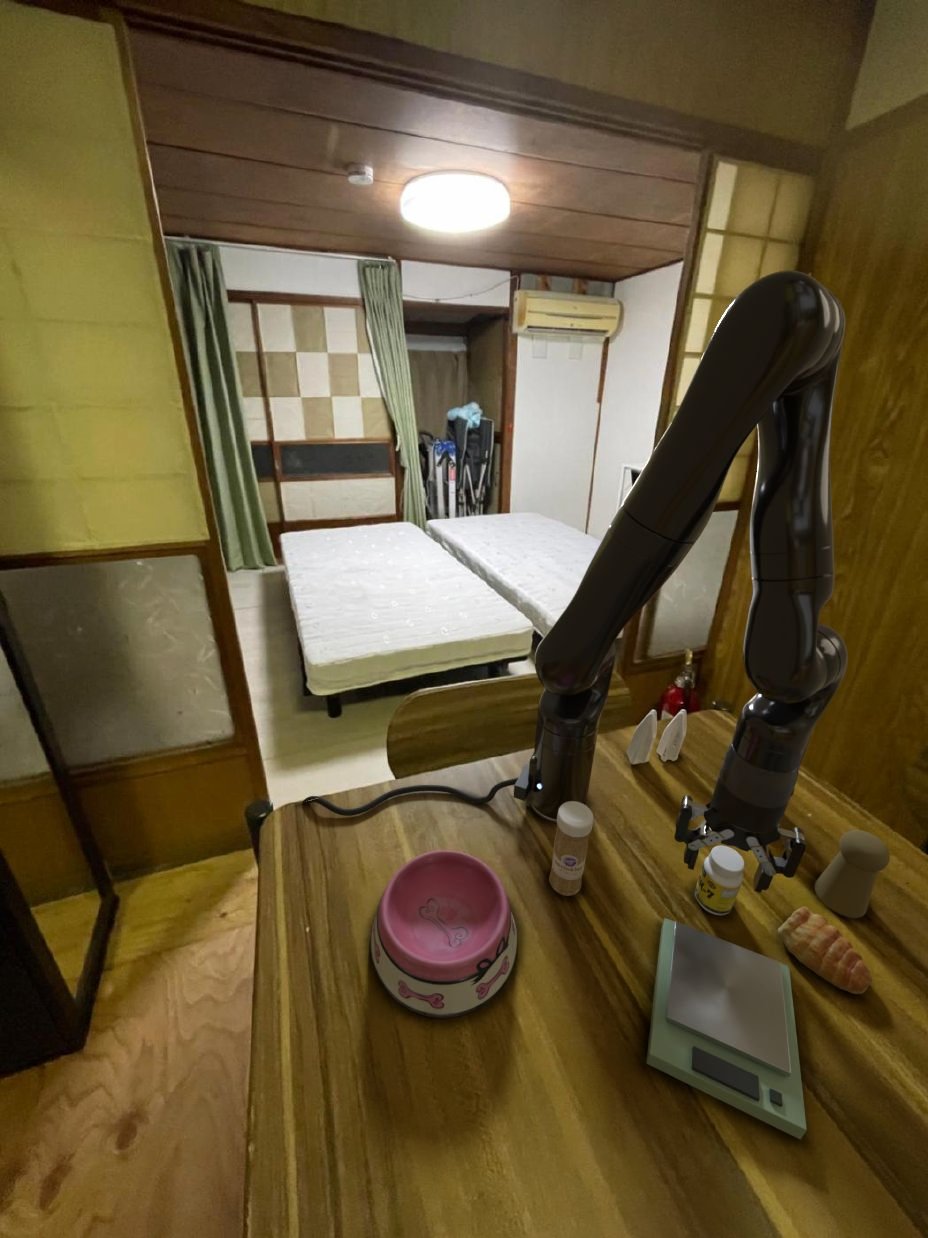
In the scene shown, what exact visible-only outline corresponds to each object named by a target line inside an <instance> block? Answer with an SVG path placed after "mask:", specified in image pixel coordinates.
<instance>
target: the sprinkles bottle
mask: <svg viewBox="0 0 928 1238" xmlns="http://www.w3.org/2000/svg"><path fill="white" fill-rule="evenodd" d="M594 819H595V818H594V814H593V811H592V810H591V808H590V807H588V806H587V805H584V804H582V803H580V802H576V801H569V802H566V803H564V804H562V805H561V806H560V808H559V810H558V815H557V823H556V831H555V835H554V843H553V850H552V858H551V869H550V873H549V877H548V881H549V884H550V886H551V888H552V889H553V890H554V891H555V892H556V893H557V894H560V895H561V896H565V897H572V896H575V895H576V894H578V892H580V890H581V888H582V879H583V874H584V871H585V866H586V859H587V855H588V849H589V848H588V847H589V840H590V834H591V832H592V830H593V826H594Z"/></svg>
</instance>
